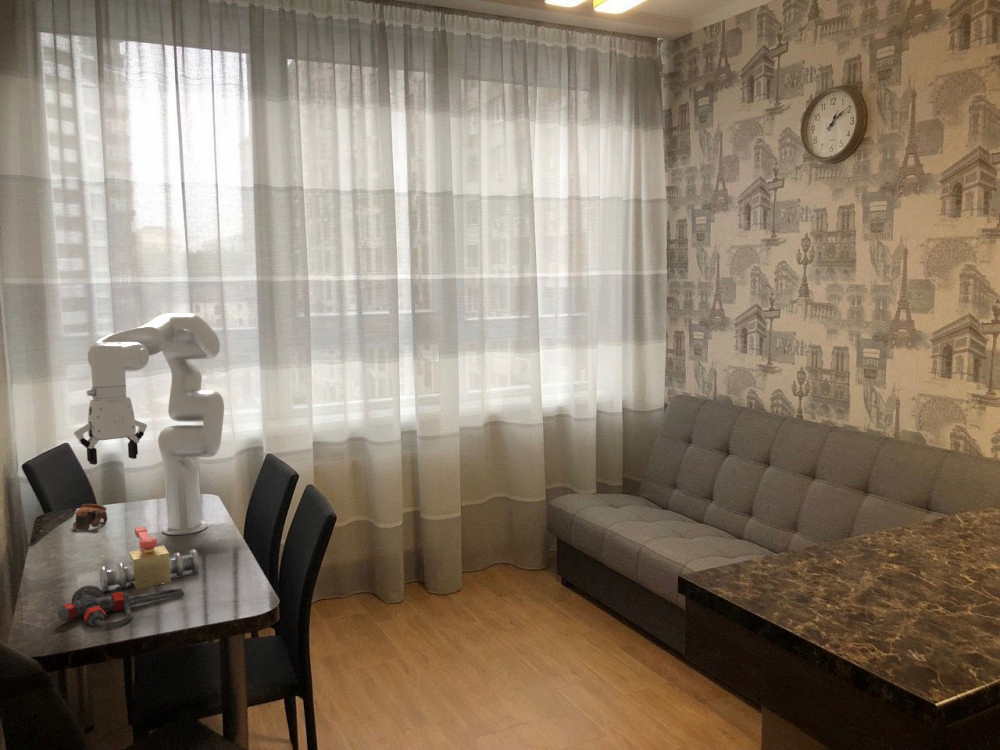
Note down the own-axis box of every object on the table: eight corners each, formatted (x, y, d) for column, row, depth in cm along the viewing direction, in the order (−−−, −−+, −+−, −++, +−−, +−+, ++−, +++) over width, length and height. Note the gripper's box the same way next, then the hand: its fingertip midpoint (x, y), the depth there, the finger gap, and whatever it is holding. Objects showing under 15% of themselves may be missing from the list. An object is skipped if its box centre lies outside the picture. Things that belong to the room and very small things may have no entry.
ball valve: (100, 587, 193) (97, 552, 192) (194, 568, 205) (192, 535, 204) (103, 596, 188) (100, 560, 187) (200, 576, 199) (198, 542, 198)
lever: (131, 534, 206) (131, 528, 205) (148, 531, 208) (147, 525, 208) (141, 550, 193) (140, 544, 192) (158, 547, 195) (158, 540, 195)
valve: (64, 649, 165) (54, 616, 176) (193, 622, 180) (176, 593, 192) (64, 621, 163) (53, 590, 175) (194, 596, 179) (176, 569, 190)
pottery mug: (64, 530, 242) (71, 504, 245) (94, 537, 249) (101, 511, 252) (84, 526, 235) (91, 499, 238) (114, 533, 242) (121, 507, 245)
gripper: (79, 397, 189) (83, 468, 190) (150, 391, 202) (154, 457, 203) (66, 395, 194) (70, 464, 195) (137, 389, 207) (140, 454, 208)
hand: (113, 461), depth 199 cm, fingers open, 9 cm apart
